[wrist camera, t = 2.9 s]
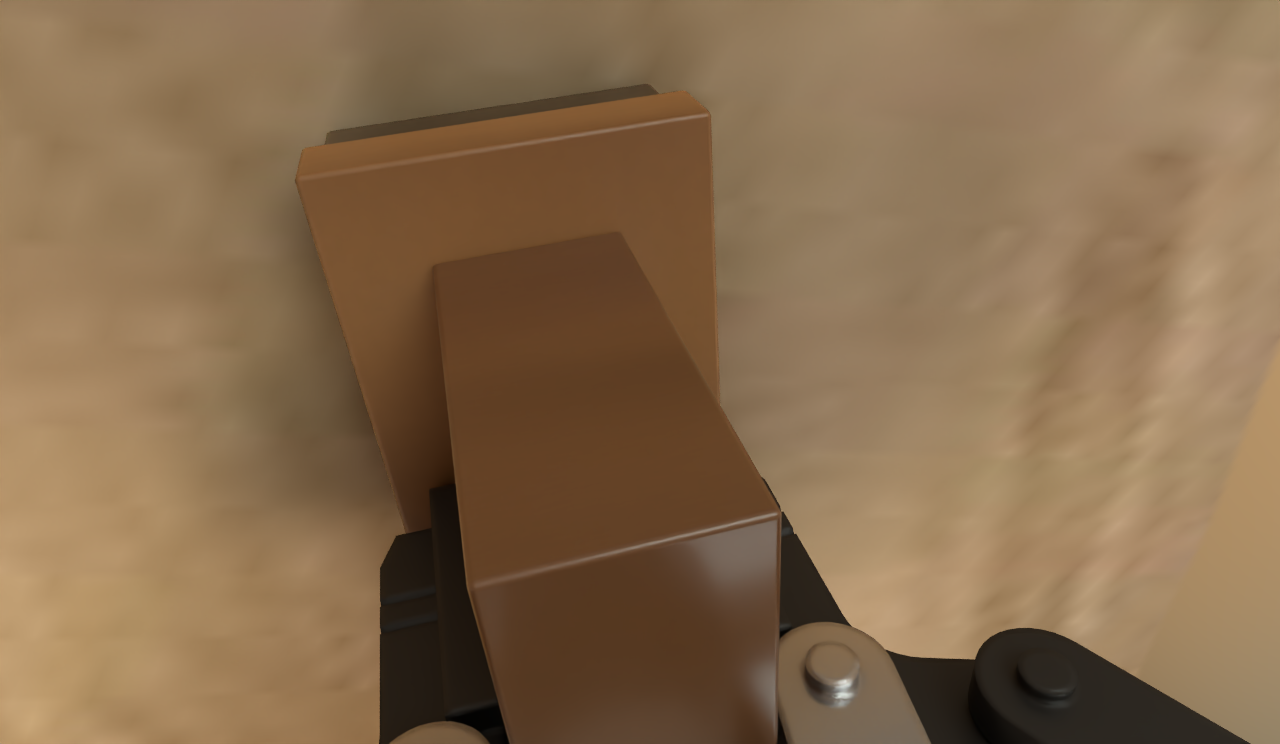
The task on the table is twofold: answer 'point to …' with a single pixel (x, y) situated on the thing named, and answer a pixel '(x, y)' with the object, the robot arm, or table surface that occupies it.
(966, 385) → the table surface
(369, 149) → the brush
